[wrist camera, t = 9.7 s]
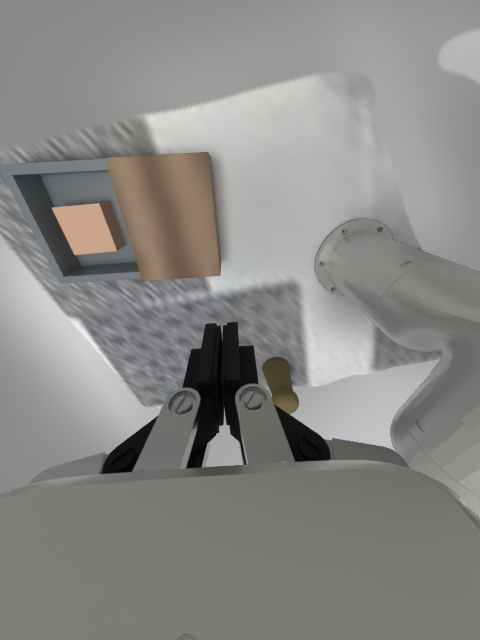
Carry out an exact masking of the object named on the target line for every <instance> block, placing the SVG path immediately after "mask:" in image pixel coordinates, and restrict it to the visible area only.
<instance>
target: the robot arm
mask: <svg viewBox="0 0 480 640" xmlns="http://www.w3.org/2000/svg"><path fill="white" fill-rule="evenodd" d="M342 230H343V232H342ZM320 262H321V263H320ZM315 272H316V277H317V279H318V281H319V283H320V284H321V285H322V286H323V287H324V288H325V289H326V290H327V291H329V292H330V293H333V294H336V295H343V296H344V295H345V296H347V297H348V298H349V299H350V300H351V301H352V302H353V303H354V304H355V305H356V306H357V307H358V308H359V309H360V310H361V311H362V312H363V313H364V314H365V315H366V316H367V317H368V318H369V319H370V320H371V321H372V322H373V323H374V324H375V325H376V326H377V327H378V328H379V329H380V330H381V331H382V332H383V333H384V334H385V335H387V336H388V337H389V338H390V339H391V340H392V341H394V342H395V343H397V344H399V345H400V346H403V347H405V348H408V349H412V350H417V351H425V352H442V353H443V354H442V358H441V360H440V361H439V363H438V364H437V365H436V366H435V368H434V369H433V370H432V371H431V373H430V375H429V376H428V377H427V378H426V379H425V380H424V382H423V383H422V384H421V385H420V386H419V387H418V388H417V389H416V390H415V392H414V393H413V394H412V395H411V396H410V397H409V398H408V400H407V401H406V402H405V403H404V404H403V405H402V407H401V408H400V409H399V410H398V412H397V413H396V414H395V416H394V418H393V420H392V423H391V427H390V436H391V441H392V445H393V448H394V450H395V451H393V450H392V449H389V448H386V447H382V446H376V445H370V444H364V443H358V442H353V441H346V440H341V439H335V438H332V440H325V439H323V438H322V437H321V436H320V435H319V434H317V433H316V432H314V431H313V430H311V429H310V428H308V427H307V426H305V425H304V424H302V423H301V422H299V421H298V420H297V419H295V418H294V417H292V416H290V415H289V414H288V413H286V412H285V411H283V410H282V409H281V408H279V407H278V406H276V405H275V404H274V403H273V401H272V398H271V395H270V393H269V391H268V390H267V389H266V388H265V387H263V386H261V385H259V383H258V376H257V369H256V361H255V354H254V347H253V345H251V346H239V339H238V324H237V322H229V323H227V325H224V326H223V343H222V334H221V326H217V324H216V323H212V324H206V325H205V331H204V336H203V342H202V348H201V349H192V350H191V353H190V358H189V362H188V366H187V371H186V375H185V379H184V384H183V388H181V389H178V390H176V391H174V392H172V393H171V394H170V395H169V396H168V398H167V399H166V401H165V403H164V405H163V407H162V409H161V411H160V414H159V416H157V417H156V418H155V419H153V420H152V421H151V422H149V423H148V424H147V425H145V426H144V427H143V428H141V429H140V430H139V431H137V432H136V433H135V434H133V435H132V436H131V437H129V438H128V439H127V440H125V441H124V442H123V443H121V444H120V445H119V446H117V447H116V448H115V449H114V450H113V451H112V452H111V453H110V454H105V452H104V453H101V454H97V455H93V456H90V457H86V458H83V459H79V460H76V461H72V462H69V463H65V464H62V465H58V466H55V467H51V468H49V469H47V470H44V471H43V472H41V473H40V474H38V475H37V476H36V477H35V478H34V479H33V480H32V481H31V482H30V483H29V484H28V485H25V486H21V487H18V488H15V489H12V490H10V491H7V492H5V493H2V494H0V640H480V272H479V271H476V270H473V269H470V268H468V267H465V266H462V265H460V264H456V263H454V262H451V261H448V260H445V259H442V258H440V257H437V256H434V255H432V254H429V253H427V252H424V251H421V250H418V249H416V248H413V247H410V246H408V245H405V244H402V243H400V242H397V241H394V240H393V236H392V234H391V232H390V230H389V229H388V228H387V227H386V226H385V225H383V224H382V223H380V222H377V221H374V220H370V219H357V220H353V221H350V222H348V223H345V224H343V225H341V226H340V227H338V228H337V229H335V230H334V231H333V232H332V233H331V234H330V235H329V236H328V237H327V238H326V240H325V241H324V242H323V244H322V245H321V247H320V249H319V251H318V254H317V257H316V262H315ZM224 409H225V416H226V423H227V425H230V433H231V435H232V436H234V437H235V438H236V439H237V440H238V441H239V445H240V451H241V456H242V462H243V465H236V466H220V467H205V466H206V461H207V457H208V452H209V448H210V441H211V440H212V438H214V437H215V436H216V433H219V426H220V425H223V423H224V421H223V420H224Z"/></svg>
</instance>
